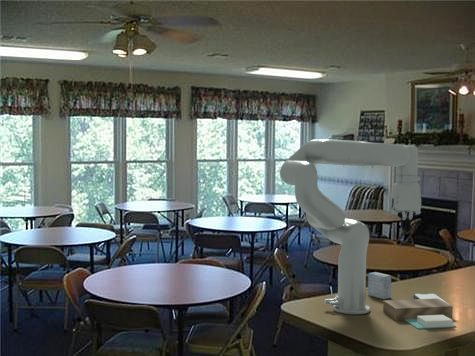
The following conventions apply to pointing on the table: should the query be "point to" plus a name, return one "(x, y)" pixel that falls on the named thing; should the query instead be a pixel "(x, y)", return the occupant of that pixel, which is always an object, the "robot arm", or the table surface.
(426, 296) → the smartphone
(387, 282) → the medicine box
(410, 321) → the mat
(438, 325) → the white box
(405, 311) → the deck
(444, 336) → the table surface
